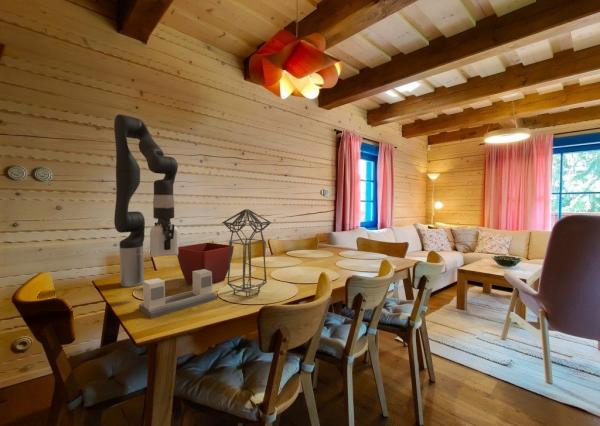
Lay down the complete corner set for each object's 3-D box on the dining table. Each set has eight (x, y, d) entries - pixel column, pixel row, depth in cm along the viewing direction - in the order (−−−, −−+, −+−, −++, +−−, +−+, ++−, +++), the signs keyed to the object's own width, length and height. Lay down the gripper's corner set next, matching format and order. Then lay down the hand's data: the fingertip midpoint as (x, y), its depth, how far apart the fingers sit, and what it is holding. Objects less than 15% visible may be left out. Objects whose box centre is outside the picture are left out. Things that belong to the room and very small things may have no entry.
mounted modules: (143, 306, 98) (142, 280, 98) (204, 290, 115) (204, 269, 115) (150, 311, 94) (149, 284, 94) (212, 294, 111) (212, 271, 110)
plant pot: (235, 279, 136) (235, 245, 135) (203, 290, 120) (202, 251, 119) (208, 274, 146) (207, 242, 145) (175, 283, 130) (174, 247, 129)
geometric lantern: (247, 285, 127) (246, 208, 125) (273, 292, 118) (273, 209, 117) (219, 295, 114) (218, 209, 113) (247, 303, 105) (246, 210, 104)
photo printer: (177, 253, 117) (177, 224, 117) (179, 255, 114) (179, 224, 113) (149, 256, 112) (149, 225, 111) (150, 258, 108) (150, 226, 108)
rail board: (139, 308, 100) (138, 301, 100) (202, 292, 118) (201, 286, 117) (151, 318, 92) (151, 310, 92) (217, 299, 109) (217, 293, 109)
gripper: (147, 206, 114) (147, 247, 115) (161, 207, 104) (162, 252, 105) (166, 205, 119) (166, 245, 120) (181, 206, 110) (181, 250, 111)
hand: (164, 248), depth 113 cm, fingers closed on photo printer, 5 cm apart
